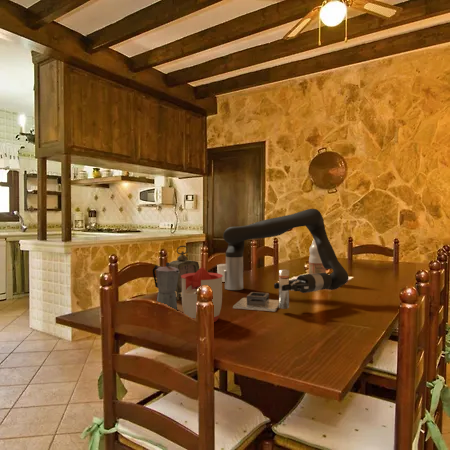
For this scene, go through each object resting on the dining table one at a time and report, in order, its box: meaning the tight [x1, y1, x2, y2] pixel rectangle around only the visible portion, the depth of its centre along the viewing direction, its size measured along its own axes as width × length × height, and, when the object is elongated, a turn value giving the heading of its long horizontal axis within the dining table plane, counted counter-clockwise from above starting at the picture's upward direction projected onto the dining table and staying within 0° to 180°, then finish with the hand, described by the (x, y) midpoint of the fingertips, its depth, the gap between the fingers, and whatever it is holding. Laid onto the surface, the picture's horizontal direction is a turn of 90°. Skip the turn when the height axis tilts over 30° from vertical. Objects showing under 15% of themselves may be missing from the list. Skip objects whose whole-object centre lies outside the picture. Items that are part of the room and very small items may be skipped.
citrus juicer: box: [181, 267, 223, 323], centre depth 135 cm, size 16×17×20 cm
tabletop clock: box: [168, 245, 200, 301], centre depth 173 cm, size 14×9×25 cm, turn 137°
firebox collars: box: [232, 291, 279, 313], centre depth 158 cm, size 18×16×5 cm
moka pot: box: [152, 262, 180, 311], centre depth 151 cm, size 10×15×20 cm, turn 58°
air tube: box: [278, 269, 290, 310], centre depth 145 cm, size 4×4×15 cm
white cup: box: [216, 263, 226, 282], centre depth 214 cm, size 8×8×10 cm
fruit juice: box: [308, 238, 327, 274], centre depth 208 cm, size 9×9×28 cm
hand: (278, 287), depth 144 cm, fingers closed on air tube, 4 cm apart
